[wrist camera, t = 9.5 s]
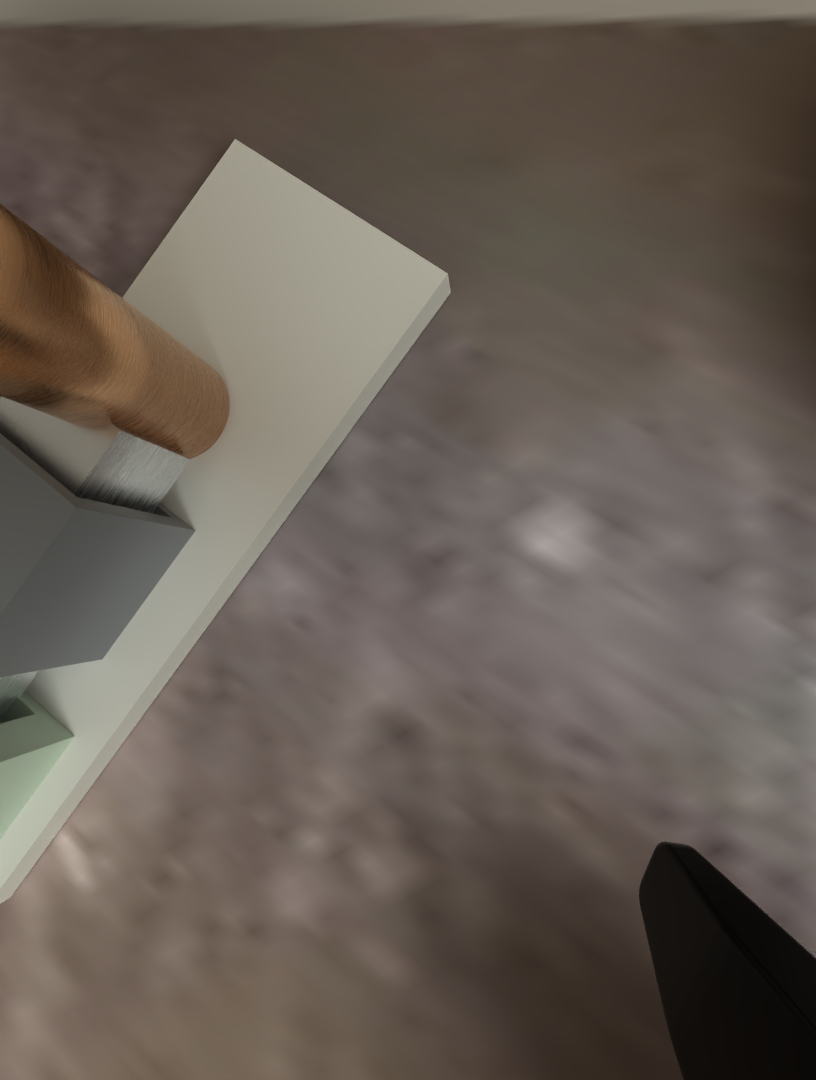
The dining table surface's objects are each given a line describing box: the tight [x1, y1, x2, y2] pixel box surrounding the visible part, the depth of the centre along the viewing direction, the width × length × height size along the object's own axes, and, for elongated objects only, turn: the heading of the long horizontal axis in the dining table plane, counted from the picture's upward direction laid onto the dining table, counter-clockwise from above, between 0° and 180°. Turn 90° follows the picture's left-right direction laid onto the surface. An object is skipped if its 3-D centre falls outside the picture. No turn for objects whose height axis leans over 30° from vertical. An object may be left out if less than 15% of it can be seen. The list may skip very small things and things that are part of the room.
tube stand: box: [0, 139, 451, 903], centre depth 17 cm, size 26×9×7 cm, turn 143°
